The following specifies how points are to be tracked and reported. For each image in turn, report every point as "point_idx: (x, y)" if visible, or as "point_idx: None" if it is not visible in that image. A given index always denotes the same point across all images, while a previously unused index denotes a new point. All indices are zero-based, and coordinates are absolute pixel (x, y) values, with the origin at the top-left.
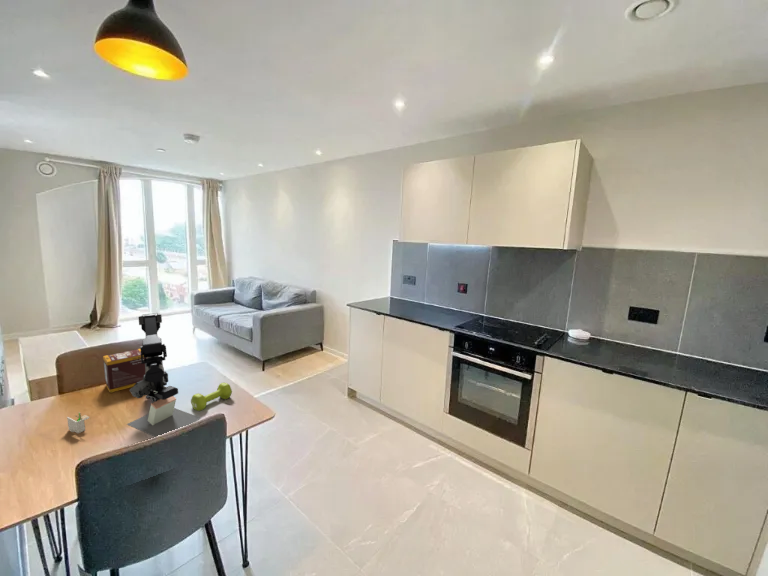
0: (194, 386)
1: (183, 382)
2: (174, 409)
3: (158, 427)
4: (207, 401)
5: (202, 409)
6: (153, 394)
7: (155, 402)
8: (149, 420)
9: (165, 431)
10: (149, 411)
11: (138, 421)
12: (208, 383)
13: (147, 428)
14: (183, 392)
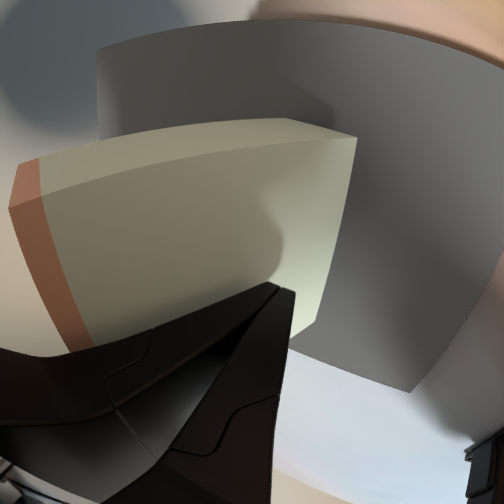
0: (380, 480)
1: (438, 492)
2: (316, 350)
3: (210, 111)
4: None
5: None
6: (15, 462)
7: (34, 268)
8: (314, 129)
9: (138, 101)
10: (224, 148)
11: (485, 151)
12: (339, 482)
13: (280, 63)
14: (401, 462)
